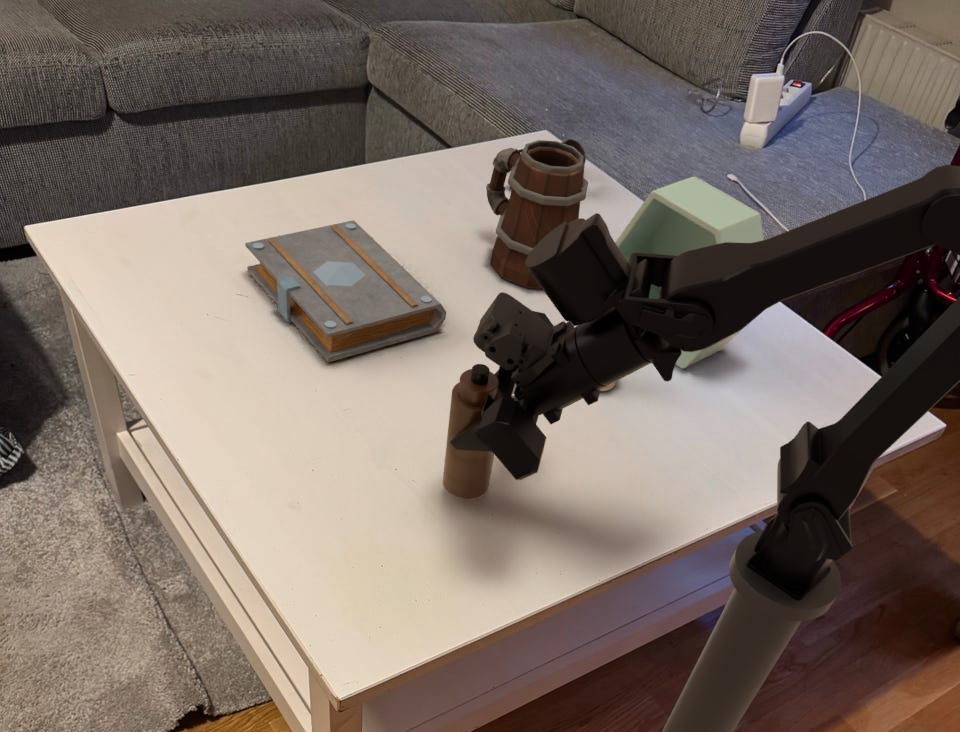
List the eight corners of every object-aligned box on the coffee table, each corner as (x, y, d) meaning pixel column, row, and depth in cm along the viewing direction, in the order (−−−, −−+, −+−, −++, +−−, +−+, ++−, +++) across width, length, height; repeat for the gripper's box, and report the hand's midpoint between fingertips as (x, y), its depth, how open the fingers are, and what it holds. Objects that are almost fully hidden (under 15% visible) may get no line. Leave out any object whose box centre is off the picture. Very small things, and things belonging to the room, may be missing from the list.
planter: (632, 371, 120) (598, 204, 111) (670, 352, 124) (640, 189, 115) (739, 366, 107) (711, 176, 98) (778, 345, 111) (754, 160, 102)
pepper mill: (498, 485, 94) (517, 372, 83) (466, 506, 92) (481, 391, 81) (465, 461, 96) (480, 347, 85) (432, 480, 93) (443, 365, 83)
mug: (592, 273, 126) (618, 161, 114) (533, 300, 120) (553, 185, 108) (512, 223, 132) (528, 112, 120) (451, 246, 126) (462, 132, 114)
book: (444, 332, 113) (447, 295, 109) (325, 366, 106) (324, 328, 102) (359, 249, 122) (359, 212, 118) (244, 274, 115) (241, 236, 111)
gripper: (557, 228, 81) (429, 312, 90) (519, 342, 69) (376, 426, 79) (623, 325, 87) (496, 396, 96) (598, 446, 75) (456, 513, 84)
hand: (458, 428), depth 89 cm, fingers closed on pepper mill, 5 cm apart
